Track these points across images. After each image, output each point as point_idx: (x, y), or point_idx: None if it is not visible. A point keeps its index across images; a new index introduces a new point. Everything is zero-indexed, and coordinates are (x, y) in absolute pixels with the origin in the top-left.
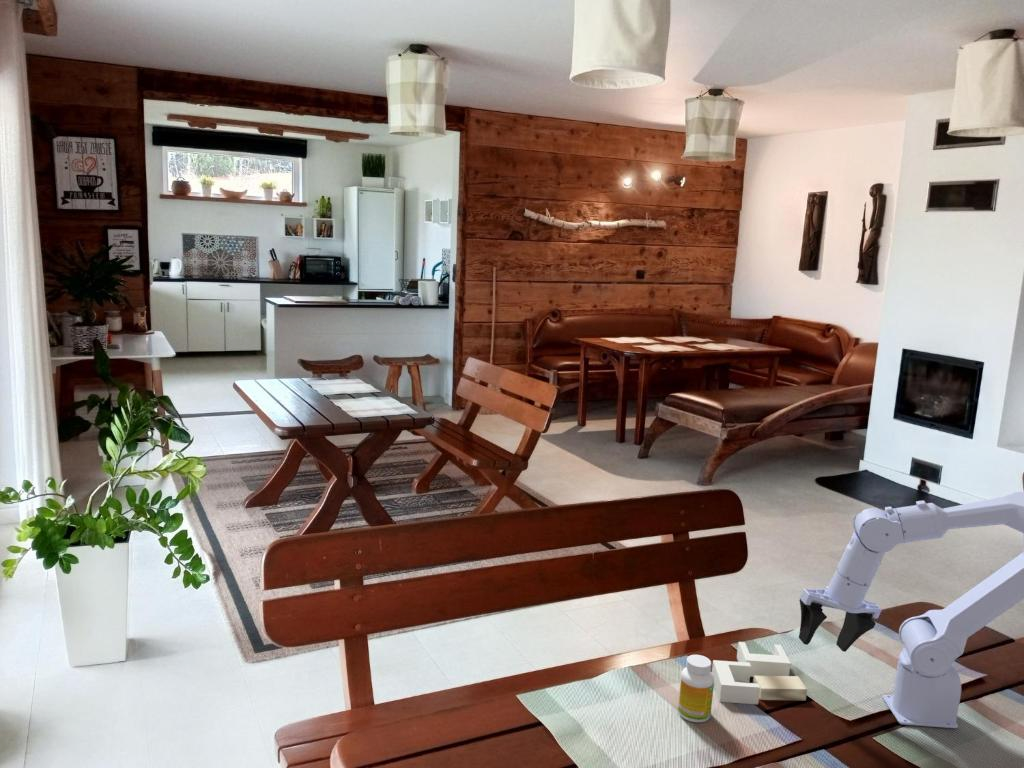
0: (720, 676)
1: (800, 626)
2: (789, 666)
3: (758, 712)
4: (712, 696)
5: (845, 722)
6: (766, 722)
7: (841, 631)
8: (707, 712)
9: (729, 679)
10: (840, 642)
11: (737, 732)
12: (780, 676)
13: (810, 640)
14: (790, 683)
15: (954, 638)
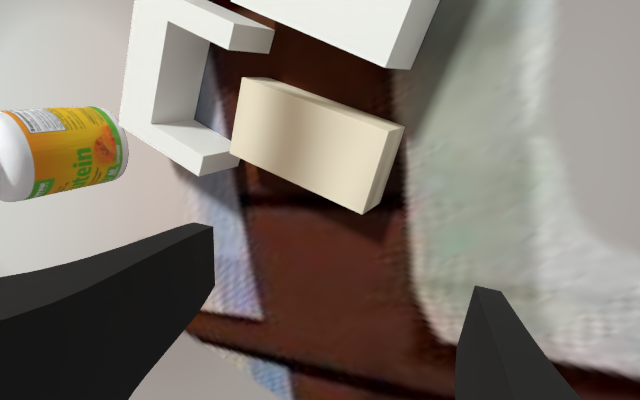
0: (128, 83)
1: (137, 243)
2: (389, 66)
3: (224, 195)
4: (74, 180)
5: (419, 340)
6: (222, 235)
7: (494, 347)
8: (96, 183)
9: (143, 106)
10: (470, 332)
11: None
12: (323, 110)
13: (193, 314)
14: (328, 163)
15: None
